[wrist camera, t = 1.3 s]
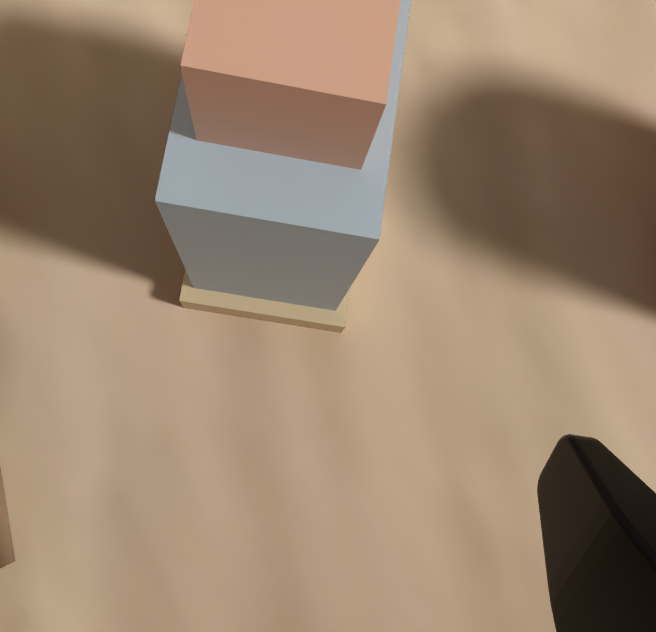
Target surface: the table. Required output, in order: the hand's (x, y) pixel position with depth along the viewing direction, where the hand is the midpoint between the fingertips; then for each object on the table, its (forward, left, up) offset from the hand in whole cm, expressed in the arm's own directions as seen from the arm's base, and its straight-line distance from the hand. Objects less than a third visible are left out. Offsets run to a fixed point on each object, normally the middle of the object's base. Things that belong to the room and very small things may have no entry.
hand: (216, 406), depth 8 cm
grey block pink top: (+8, -3, -14) cm, 16 cm away
